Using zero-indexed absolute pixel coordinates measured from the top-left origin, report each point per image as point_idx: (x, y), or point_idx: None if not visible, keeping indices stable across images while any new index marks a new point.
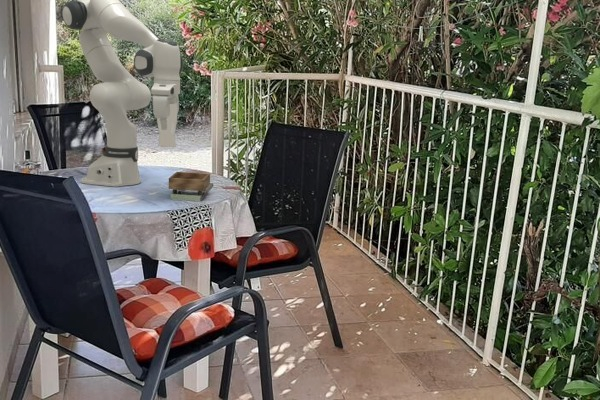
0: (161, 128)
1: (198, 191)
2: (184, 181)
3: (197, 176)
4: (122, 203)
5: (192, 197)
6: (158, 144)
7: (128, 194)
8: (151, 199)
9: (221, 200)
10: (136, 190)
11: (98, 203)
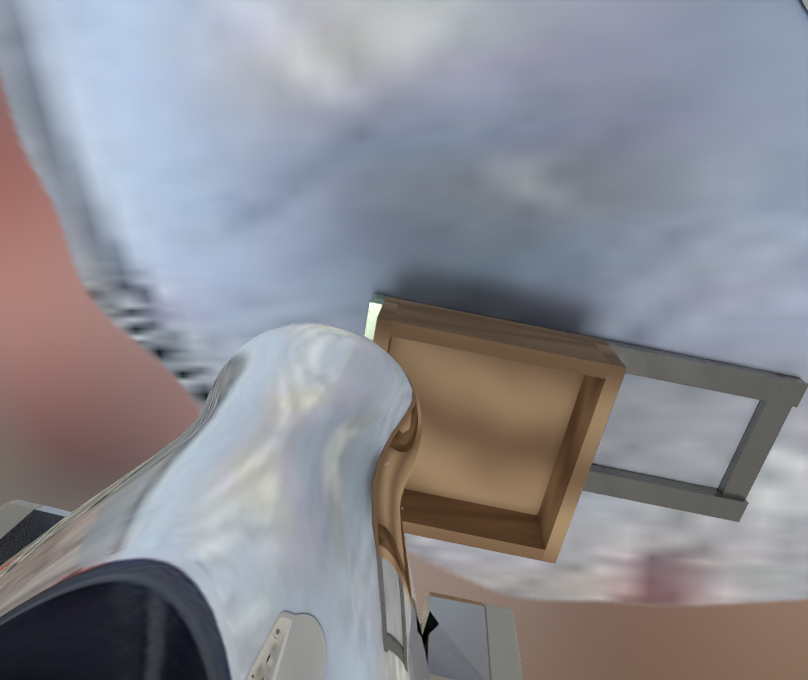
0: (2, 515)
1: None
2: None
3: (560, 483)
4: (242, 10)
5: None
6: (275, 333)
7: (494, 13)
8: (366, 185)
9: None
10: (620, 56)
11: None
